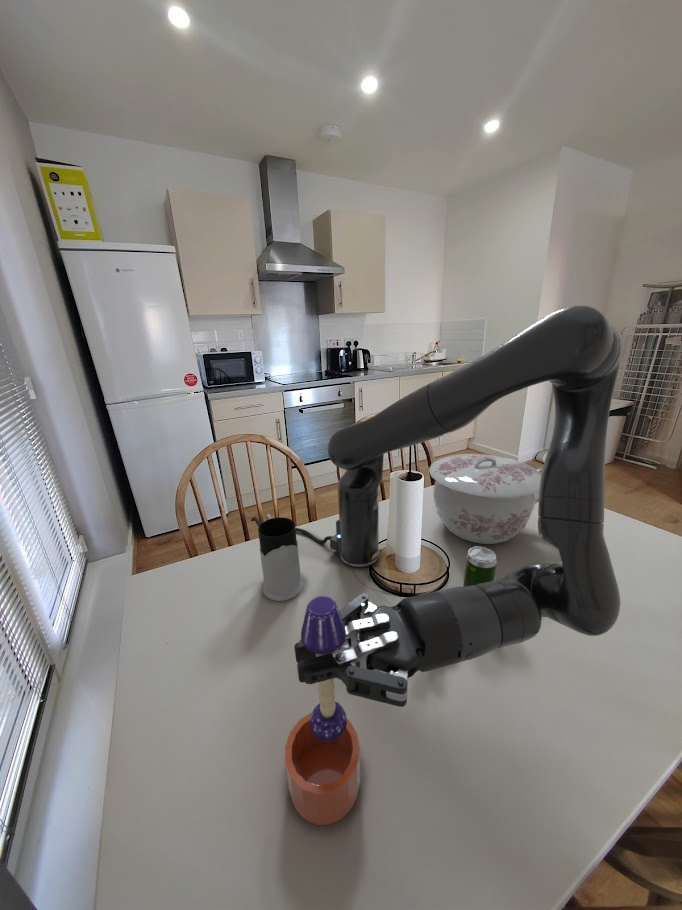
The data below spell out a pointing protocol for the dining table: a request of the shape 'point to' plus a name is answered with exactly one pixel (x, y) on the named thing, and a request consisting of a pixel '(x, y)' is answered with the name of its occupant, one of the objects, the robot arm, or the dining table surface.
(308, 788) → the orange cylindrical pot
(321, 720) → the toy lamp
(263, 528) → the glass holder
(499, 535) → the chamber pot
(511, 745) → the dining table surface
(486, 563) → the beer can
